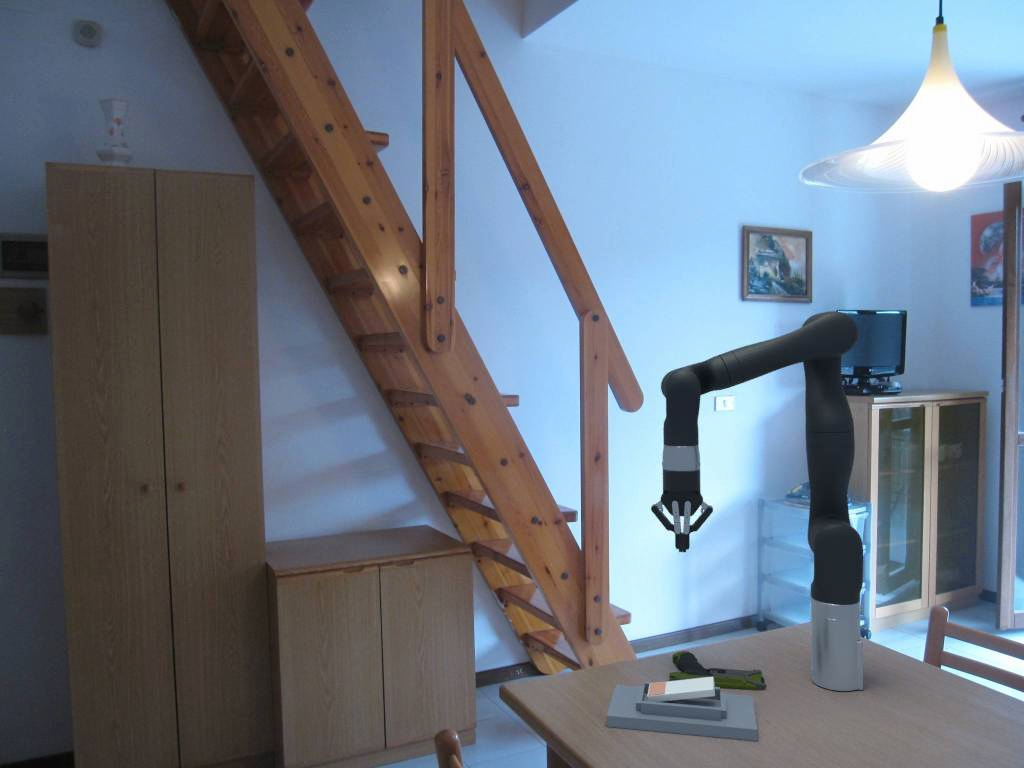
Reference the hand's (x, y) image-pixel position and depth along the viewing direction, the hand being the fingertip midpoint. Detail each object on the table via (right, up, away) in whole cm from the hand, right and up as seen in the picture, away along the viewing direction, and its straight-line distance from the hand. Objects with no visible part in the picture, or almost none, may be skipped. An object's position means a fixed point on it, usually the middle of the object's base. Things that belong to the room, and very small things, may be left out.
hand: (682, 551), depth 159 cm
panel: (-3, -27, -15) cm, 31 cm away
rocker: (-4, -22, -15) cm, 27 cm away
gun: (+8, -28, +4) cm, 29 cm away
